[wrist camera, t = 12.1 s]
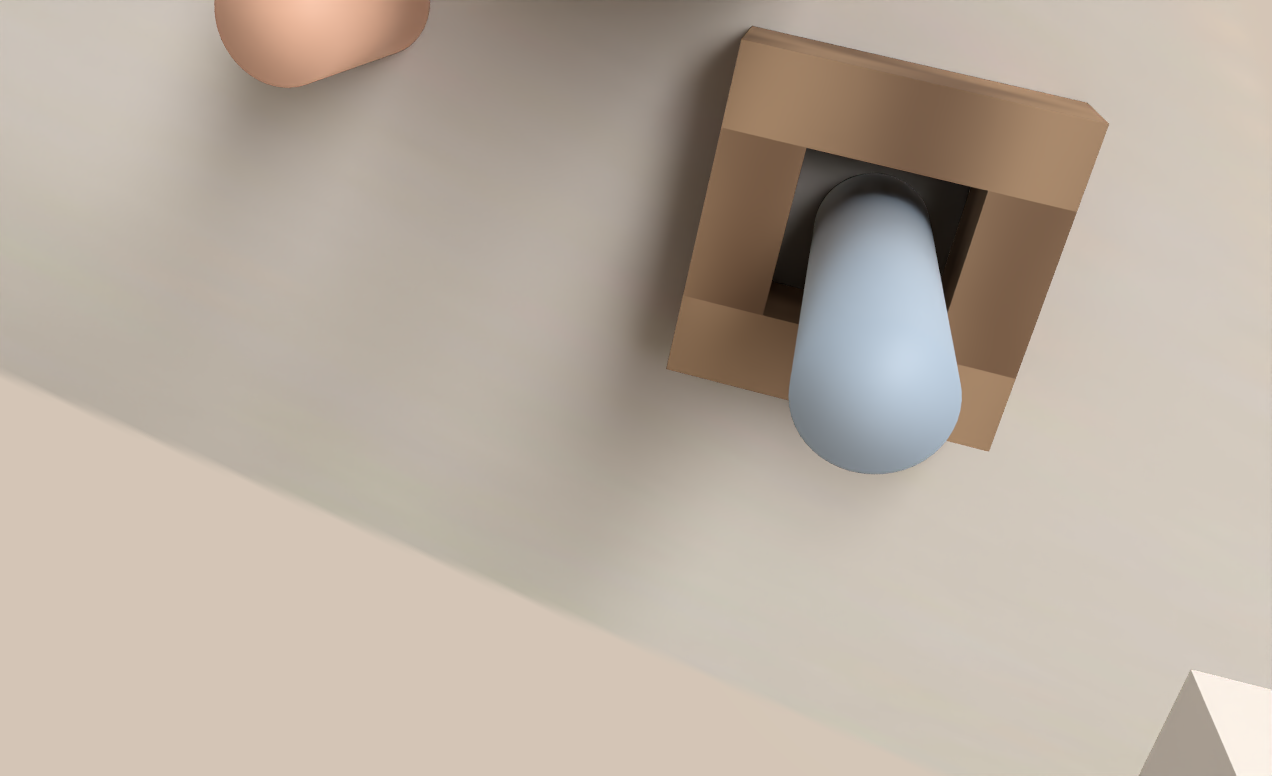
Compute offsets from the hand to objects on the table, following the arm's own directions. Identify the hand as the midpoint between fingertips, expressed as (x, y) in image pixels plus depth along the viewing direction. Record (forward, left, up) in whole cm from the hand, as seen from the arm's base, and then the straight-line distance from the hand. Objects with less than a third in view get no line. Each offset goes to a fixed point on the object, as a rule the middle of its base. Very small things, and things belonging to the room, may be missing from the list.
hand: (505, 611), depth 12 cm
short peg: (-11, +2, -23) cm, 26 cm away
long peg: (+4, -1, -23) cm, 24 cm away
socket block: (+4, -1, -23) cm, 23 cm away
